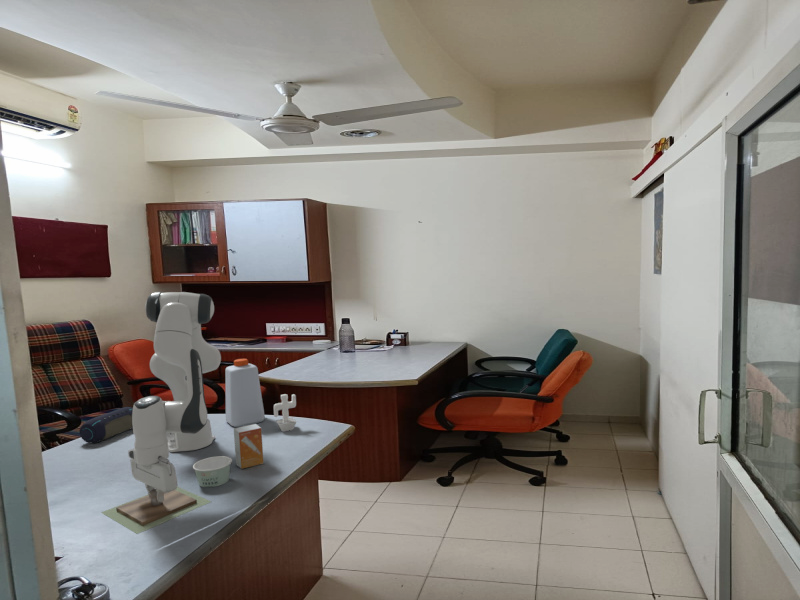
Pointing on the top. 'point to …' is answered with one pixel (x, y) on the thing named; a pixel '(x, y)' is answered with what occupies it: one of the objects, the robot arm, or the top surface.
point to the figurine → (285, 413)
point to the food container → (213, 471)
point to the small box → (248, 446)
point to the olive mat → (139, 528)
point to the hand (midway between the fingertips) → (156, 499)
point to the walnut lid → (155, 506)
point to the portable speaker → (107, 425)
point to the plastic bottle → (243, 394)
